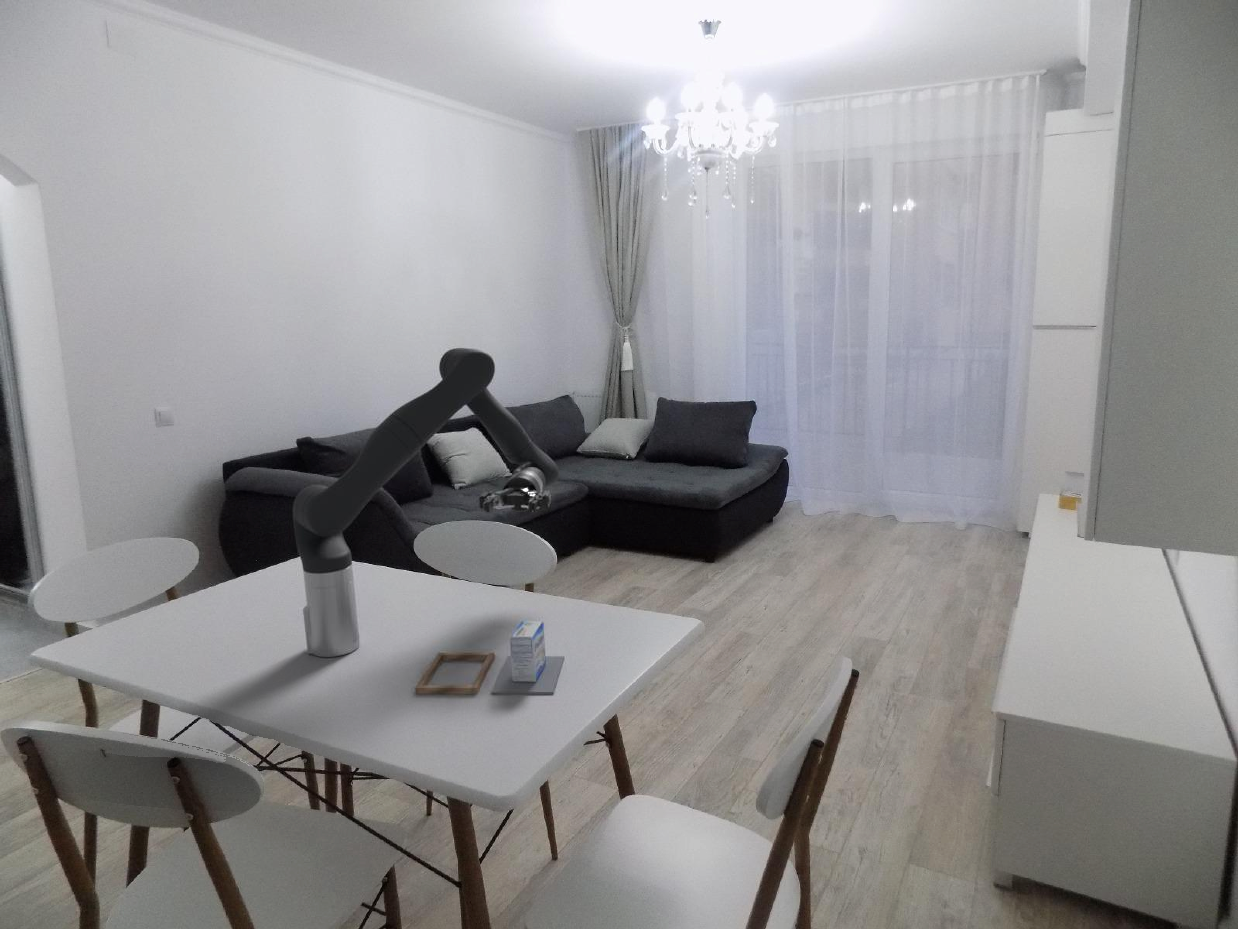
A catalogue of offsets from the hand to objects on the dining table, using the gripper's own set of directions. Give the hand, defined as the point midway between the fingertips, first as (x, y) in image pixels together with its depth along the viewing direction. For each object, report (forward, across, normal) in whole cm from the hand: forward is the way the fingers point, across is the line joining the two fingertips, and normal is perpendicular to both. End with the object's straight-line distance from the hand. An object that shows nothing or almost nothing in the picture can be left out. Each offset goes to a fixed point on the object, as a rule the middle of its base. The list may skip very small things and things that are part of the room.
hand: (508, 507), depth 163 cm
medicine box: (+16, +6, +28) cm, 33 cm away
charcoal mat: (+16, +6, +28) cm, 33 cm away
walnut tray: (+16, -8, +28) cm, 33 cm away
